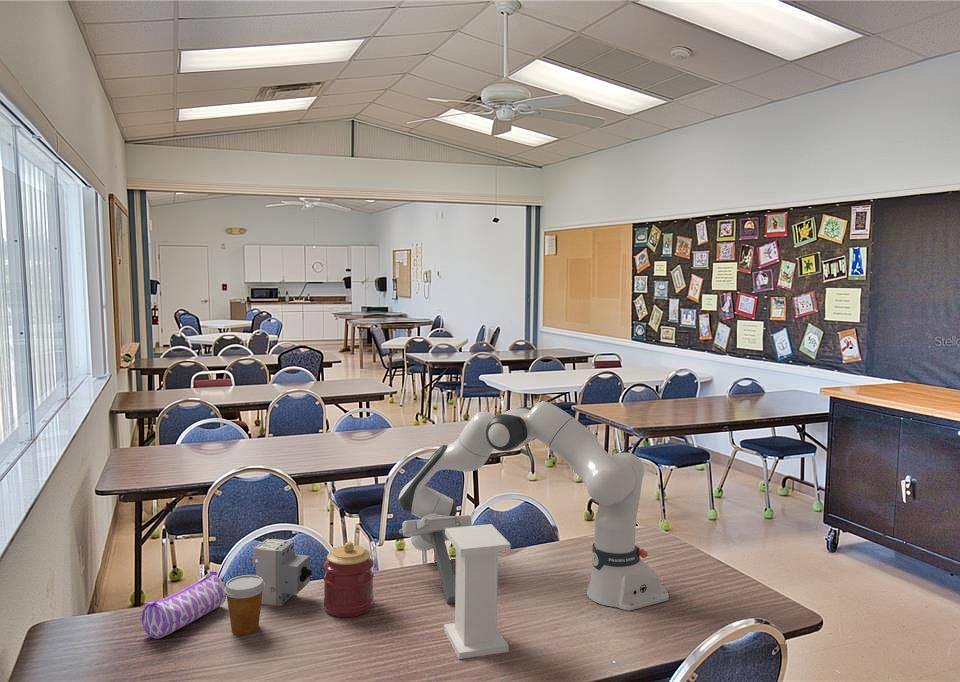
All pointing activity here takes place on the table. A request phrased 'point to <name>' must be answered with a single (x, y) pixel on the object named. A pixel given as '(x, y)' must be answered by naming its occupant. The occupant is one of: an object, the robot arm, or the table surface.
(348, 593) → the canister
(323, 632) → the table surface
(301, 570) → the circuit breaker
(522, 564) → the table surface
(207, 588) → the pencil case
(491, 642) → the stand
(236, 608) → the disposable coffee cup
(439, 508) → the robot arm
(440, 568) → the bar
